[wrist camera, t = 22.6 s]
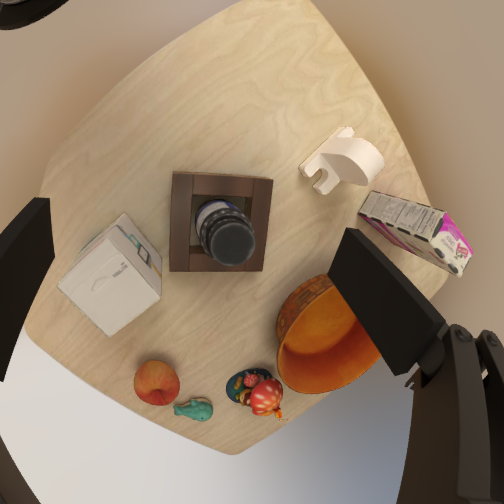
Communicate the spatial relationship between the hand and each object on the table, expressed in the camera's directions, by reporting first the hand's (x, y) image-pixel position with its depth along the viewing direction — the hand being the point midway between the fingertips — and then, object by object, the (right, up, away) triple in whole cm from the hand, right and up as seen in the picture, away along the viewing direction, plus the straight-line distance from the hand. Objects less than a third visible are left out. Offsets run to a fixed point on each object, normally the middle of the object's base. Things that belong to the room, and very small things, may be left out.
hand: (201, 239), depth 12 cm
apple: (-14, -20, +33) cm, 41 cm away
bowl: (+13, -11, +38) cm, 41 cm away
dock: (-3, +4, +28) cm, 28 cm away
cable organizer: (+13, +13, +29) cm, 35 cm away
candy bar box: (+24, +5, +35) cm, 43 cm away
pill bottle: (-3, +4, +28) cm, 28 cm away
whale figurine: (-9, -29, +38) cm, 49 cm away
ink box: (-16, -1, +26) cm, 30 cm away
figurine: (+2, -26, +40) cm, 47 cm away
